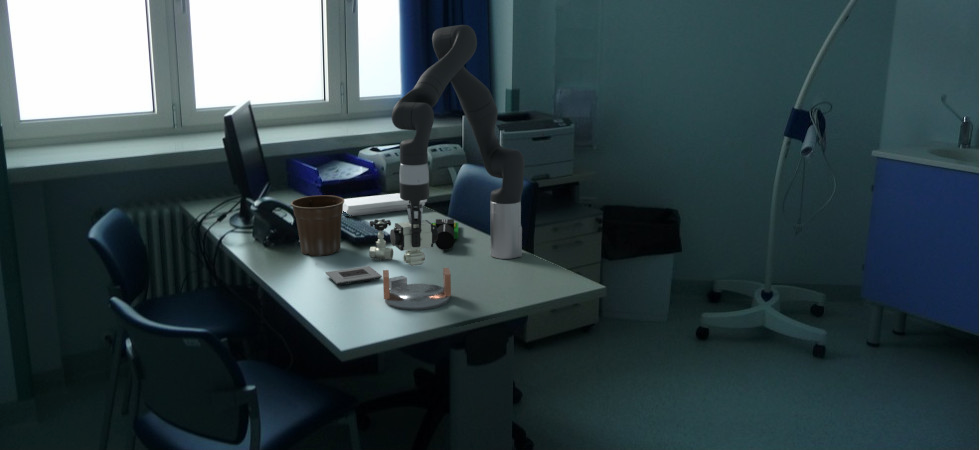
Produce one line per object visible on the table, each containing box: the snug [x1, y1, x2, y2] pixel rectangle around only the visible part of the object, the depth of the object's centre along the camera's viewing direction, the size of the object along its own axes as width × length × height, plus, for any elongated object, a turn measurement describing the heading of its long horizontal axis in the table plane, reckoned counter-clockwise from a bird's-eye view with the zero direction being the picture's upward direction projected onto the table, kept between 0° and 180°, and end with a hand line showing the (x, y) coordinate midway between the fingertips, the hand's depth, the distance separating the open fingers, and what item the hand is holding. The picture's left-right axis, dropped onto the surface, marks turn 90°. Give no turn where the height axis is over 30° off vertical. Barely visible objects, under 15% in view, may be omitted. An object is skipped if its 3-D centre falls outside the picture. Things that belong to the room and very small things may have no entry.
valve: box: [368, 218, 394, 261], centre depth 270 cm, size 7×7×12 cm
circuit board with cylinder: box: [431, 218, 459, 251], centre depth 293 cm, size 30×7×15 cm
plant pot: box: [290, 194, 345, 257], centre depth 279 cm, size 16×16×16 cm
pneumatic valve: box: [389, 219, 438, 267], centre depth 233 cm, size 6×12×12 cm, turn 116°
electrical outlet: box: [325, 265, 383, 286], centre depth 253 cm, size 13×10×2 cm
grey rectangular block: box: [389, 275, 408, 290], centre depth 247 cm, size 5×2×2 cm, turn 126°
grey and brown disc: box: [382, 267, 452, 312], centre depth 236 cm, size 18×17×8 cm
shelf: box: [343, 192, 428, 217], centre depth 329 cm, size 12×30×5 cm, turn 116°
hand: (415, 243), depth 233 cm, fingers closed on pneumatic valve, 5 cm apart
